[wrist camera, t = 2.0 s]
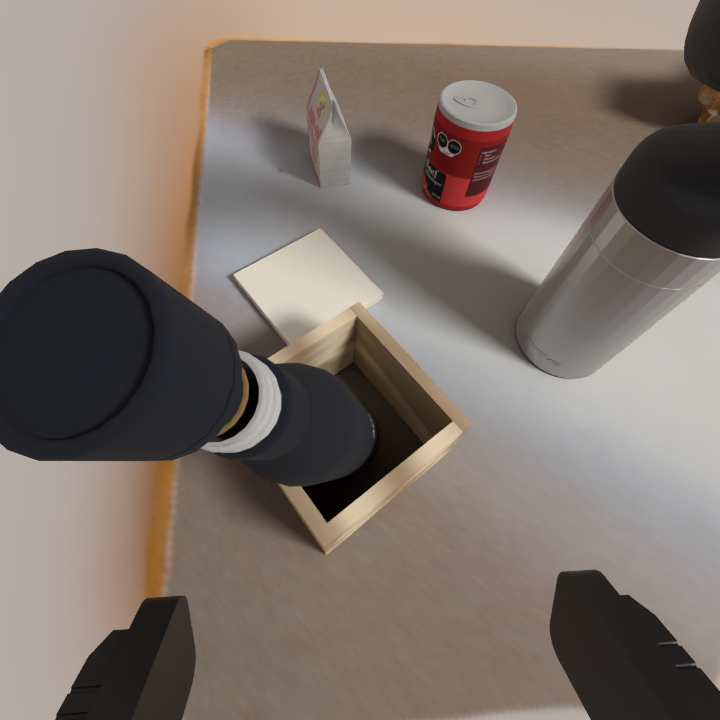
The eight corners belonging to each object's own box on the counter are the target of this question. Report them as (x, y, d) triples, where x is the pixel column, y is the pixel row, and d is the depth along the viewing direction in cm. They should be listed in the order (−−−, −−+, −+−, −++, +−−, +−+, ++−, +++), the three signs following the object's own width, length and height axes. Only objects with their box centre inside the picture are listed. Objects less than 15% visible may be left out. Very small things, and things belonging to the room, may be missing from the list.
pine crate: (355, 349, 41) (358, 301, 34) (446, 453, 37) (473, 423, 30) (238, 427, 37) (215, 390, 30) (326, 555, 33) (323, 547, 26)
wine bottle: (290, 440, 37) (-163, 361, 8) (340, 385, 37) (94, 125, 8) (342, 493, 35) (21, 643, 6) (395, 436, 36) (322, 330, 7)
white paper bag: (337, 148, 55) (337, 65, 46) (349, 183, 52) (352, 102, 43) (309, 151, 55) (304, 68, 46) (320, 188, 52) (317, 106, 43)
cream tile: (320, 234, 48) (320, 228, 47) (382, 298, 44) (383, 293, 43) (235, 280, 45) (233, 274, 44) (294, 354, 41) (293, 349, 40)
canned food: (420, 166, 54) (439, 75, 45) (482, 172, 54) (514, 83, 45) (419, 209, 51) (439, 120, 41) (486, 215, 51) (521, 129, 41)
